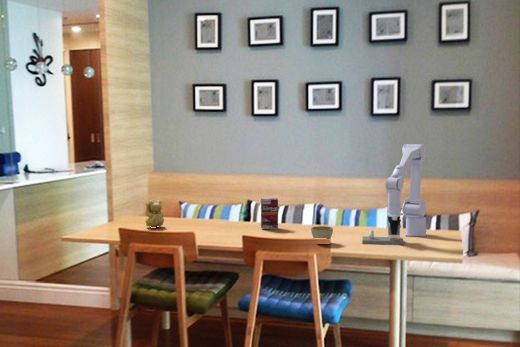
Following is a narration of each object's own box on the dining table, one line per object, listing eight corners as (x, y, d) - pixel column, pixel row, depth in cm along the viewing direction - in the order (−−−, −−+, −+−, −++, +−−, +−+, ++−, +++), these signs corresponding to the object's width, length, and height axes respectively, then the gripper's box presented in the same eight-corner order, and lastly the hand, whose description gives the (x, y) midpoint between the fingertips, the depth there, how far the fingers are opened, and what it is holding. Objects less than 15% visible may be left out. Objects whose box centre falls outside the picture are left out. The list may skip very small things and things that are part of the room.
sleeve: (388, 235, 257) (388, 224, 256) (399, 235, 256) (399, 224, 255) (388, 237, 252) (388, 226, 251) (399, 237, 251) (399, 226, 250)
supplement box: (262, 230, 288) (261, 199, 286) (260, 228, 292) (260, 198, 291) (278, 229, 289) (278, 199, 287) (277, 227, 293) (276, 197, 292)
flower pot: (309, 241, 258) (309, 226, 257) (330, 241, 259) (330, 225, 258) (313, 246, 248) (313, 230, 247) (335, 245, 249) (335, 229, 248)
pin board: (402, 240, 258) (402, 228, 257) (403, 244, 249) (403, 232, 248) (362, 239, 261) (362, 227, 261) (362, 243, 252) (362, 231, 252)
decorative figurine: (161, 225, 303) (160, 198, 302) (166, 228, 296) (166, 200, 295) (144, 227, 299) (143, 199, 297) (149, 229, 292) (148, 201, 290)
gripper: (404, 206, 244) (403, 236, 246) (402, 201, 259) (402, 230, 260) (387, 205, 246) (387, 236, 247) (386, 201, 260) (386, 230, 261)
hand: (393, 233), depth 254 cm, fingers open, 5 cm apart
